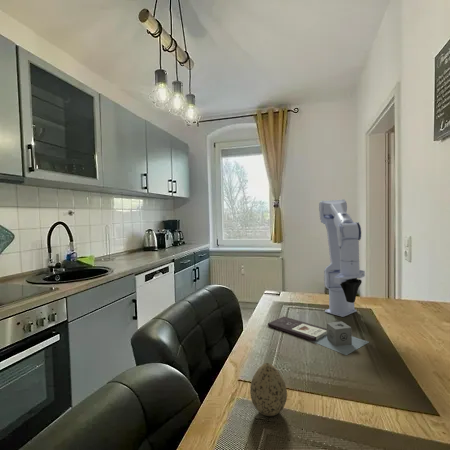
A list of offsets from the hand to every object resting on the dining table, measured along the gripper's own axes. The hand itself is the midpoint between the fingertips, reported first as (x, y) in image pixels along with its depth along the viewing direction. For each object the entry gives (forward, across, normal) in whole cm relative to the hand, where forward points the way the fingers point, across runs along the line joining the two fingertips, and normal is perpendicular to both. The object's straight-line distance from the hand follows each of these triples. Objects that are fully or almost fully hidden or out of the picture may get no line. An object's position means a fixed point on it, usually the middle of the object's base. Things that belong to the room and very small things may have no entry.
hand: (350, 301), depth 95 cm
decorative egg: (+10, -48, -11) cm, 50 cm away
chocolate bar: (+9, -12, +12) cm, 20 cm away
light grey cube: (+10, -10, -2) cm, 14 cm away
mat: (+10, -10, -2) cm, 14 cm away
